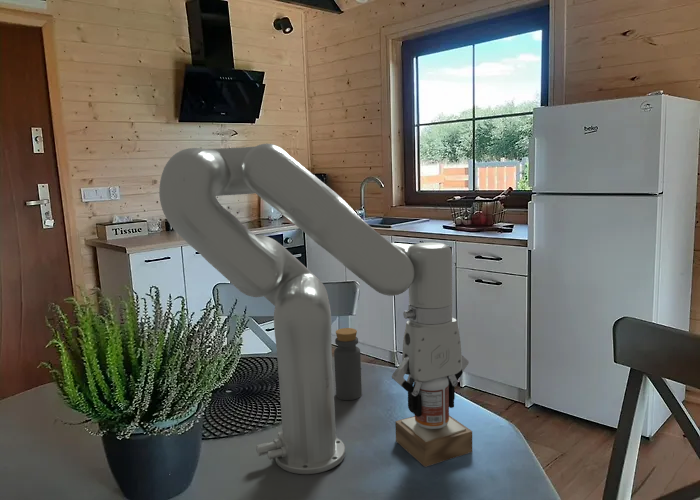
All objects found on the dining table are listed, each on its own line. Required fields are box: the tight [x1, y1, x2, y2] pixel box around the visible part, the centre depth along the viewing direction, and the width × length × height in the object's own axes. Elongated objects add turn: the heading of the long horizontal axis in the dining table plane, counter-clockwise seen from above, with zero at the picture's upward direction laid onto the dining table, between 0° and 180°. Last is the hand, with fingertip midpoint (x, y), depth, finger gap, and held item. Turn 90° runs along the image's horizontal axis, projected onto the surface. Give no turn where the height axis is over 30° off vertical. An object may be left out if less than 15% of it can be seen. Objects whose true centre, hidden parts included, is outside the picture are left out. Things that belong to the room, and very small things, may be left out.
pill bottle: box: [414, 377, 450, 429], centre depth 99 cm, size 6×6×11 cm
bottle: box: [333, 327, 363, 401], centre depth 123 cm, size 6×6×15 cm
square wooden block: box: [394, 415, 473, 468], centre depth 101 cm, size 10×10×4 cm
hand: (431, 408), depth 100 cm, fingers closed on pill bottle, 6 cm apart
